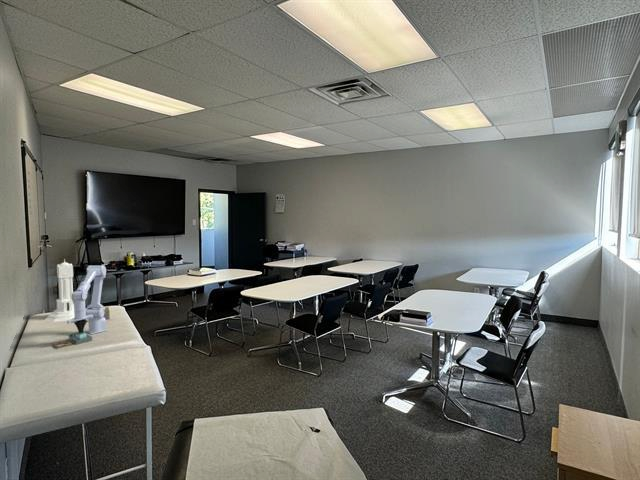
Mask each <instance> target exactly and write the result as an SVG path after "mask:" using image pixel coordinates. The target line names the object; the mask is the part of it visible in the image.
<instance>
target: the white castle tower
mask: <svg viewBox="0 0 640 480" xmlns="http://www.w3.org/2000/svg"><path fill="white" fill-rule="evenodd" d="M63 260H64V261H63V262H62V263H59V264H58V263H57V265H56V275H57V276H56V277H57V278H58V280H57V282H58V297H59V298H58V299H55V301H56V302H55V303H56V309H55V310H53V311H52V312H51V313H50V314H48V316H47V317H46V318H44V321H48V322H52V323H55V322H57V323H58V322H67V320H70V319H73V318H75V315H74V304H73V301H72V298H71V297H72V293H73V292H74V288H73V287H74V285H73V282H74V281H73V278H74V266H73V263H69V262H66V259H65V258H64V259H63Z"/></svg>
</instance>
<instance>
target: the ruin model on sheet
mask: <svg viewBox="0 0 640 480" xmlns="http://www.w3.org/2000/svg"><path fill="white" fill-rule="evenodd" d="M110 315H111V314H110V308H109V306H105V307H104V316H103V317H105V319H106V321H108V320H111V318H110Z"/></svg>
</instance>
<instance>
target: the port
mask: <svg viewBox="0 0 640 480" xmlns="http://www.w3.org/2000/svg"><path fill="white" fill-rule="evenodd" d="M83 331H85V330H83ZM76 332H79V331H78V330H77V331H75V332H68V334H67V335H68V342H70V343H72V344H75V345H80V344H85V343H88V342H92V341H93V336H92V335H90V334H87V333H86V335H87V337H85V338H81V339H77V338H76ZM84 342H85V343H84Z"/></svg>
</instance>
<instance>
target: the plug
mask: <svg viewBox="0 0 640 480" xmlns="http://www.w3.org/2000/svg"><path fill="white" fill-rule="evenodd" d="M75 332H76V338H77V339H81V338H85V337H87V335H88V334H87V331H85V330H84V331H83V332H82V333H79V332H78V331H75ZM86 334H87V335H86Z"/></svg>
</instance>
